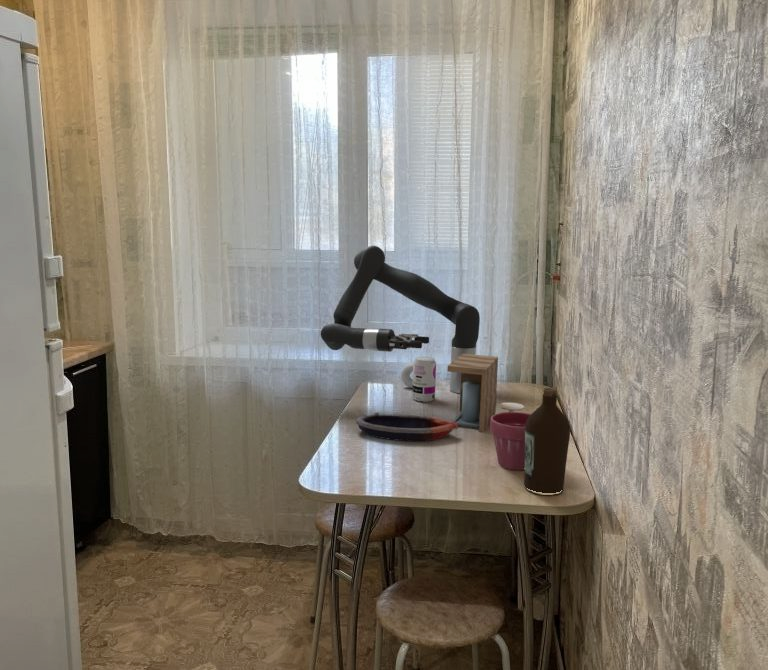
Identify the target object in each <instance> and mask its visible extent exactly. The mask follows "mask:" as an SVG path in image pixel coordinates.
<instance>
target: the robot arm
mask: <svg viewBox="0 0 768 670" xmlns="http://www.w3.org/2000/svg"><path fill="white" fill-rule="evenodd" d="M353 264H354V267H355V269H356V273H355V275H354V277H353V279H352V281H351V282H350V283H349V285H348V287H347V288H346V289H345V291H344V293H343V294H342V295H341V298H340V300H339V302H337V303H338V304H337V306H336V307H335V309H334V311H333V321H334V322H333V323H328V324H326V325H325V326H323V327H322V329H321V330H320V337H321V339H322V341H323V343H325V344H326V346H327V347H328V348H329V349H330V350H333V351H338V350H339V351H340V350H341V349H342V348H344V347H345V345H347V346H349V347H350V348H352V349H358V350H368V351H373V352H374V351H375V352H376V351H377V352H392V351H393V350H394V349H397V350H407V349H408V350H409V349H422V348H423V344H427V345H428V344H430V337H429V336H422V335H421V336H419V334H414V333H413V334H412V333H399V334H398V335H396V333H395V330H394V329H391V328H378V327H377V328H373V327H370V328H365V327H364V328H362V327H361V328H360V327H352V323H353V320H354V318H355V316H356V314H357V312H358V310H359V308H360V305H361V304H362V301H363V300H364V297H365V295H366V293H367V291H368V289H369V288H370V286H371V284H372V283H373V281H378V282H380V283H381V284H383V285H385V286H387V287H388V288H390V289H391V290H393V291H395V292H397V293H398V294H400V295H402V296H404V297H405V298H407V299H408V300H410V301H411V302H414V303H415V304H418V305H420V306H422V307H424V308H426V309H430V310H432V311H434V312H436V313H438V314H440V315H441V316H443V317H444V318H446V319H447V320H448V321H450V322H451V323H452V324H453V325H455V327H454V328H455V330H454V336H453V337H452V339H451V351H450V353H451V354H450V355H451V356H450V364H451V363H452V362H453V361H454V360H456V359H457V358H458V357H459V356H460V355H462V354H472V355H477V342H478V340H479V337H480V336H479V334H480V321H481V320H480V317H481V316H480V312H479V310H478V309H477V308H476V307H475V306H473V305H471V304H468V303H466V302H462V301H460V300H457V299H455V298H453V297H451V296H449V295H447V294H445V292H443V291H442V290H441V289H440V288H439V287H438V286H436V285H435V284H433V283H432V282H430V281H429V280H428V279H426V278H424V277H422V276H421V275H419V274H417V273H414V272H411V271H409V270H403V269H400V268H396V267H393V266H391V265H390V264H388V263H386V255H385V252H384V251H383V249H382V248H380V247H379V246H376V245H370V246H366V247H365V248H363V249H362V250H360V251H359V252H358V253H357V254H356V255H355V257H354V259H353ZM413 338H414V339H413ZM449 373H450V374H449V376H450V377H449V391H450V392H452V393H457V394H460V387H461V373H457V372H449Z"/></svg>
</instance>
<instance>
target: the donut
mask: <svg viewBox="0 0 768 670" xmlns="http://www.w3.org/2000/svg"><path fill="white" fill-rule="evenodd" d="M411 373H413V362H410V363H407V364H406V365H405V366H404V367H403V368H402V370H401V373H400V378H401V381H402V382H403V384H404V385H405V386H406V387H408V388H409V387H410V388H409V389H413V378H412V377H411V376H410V374H411Z"/></svg>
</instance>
